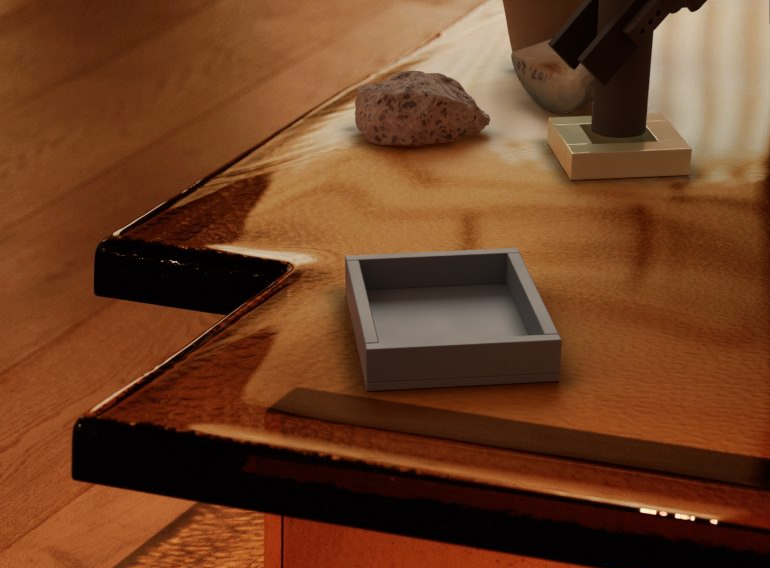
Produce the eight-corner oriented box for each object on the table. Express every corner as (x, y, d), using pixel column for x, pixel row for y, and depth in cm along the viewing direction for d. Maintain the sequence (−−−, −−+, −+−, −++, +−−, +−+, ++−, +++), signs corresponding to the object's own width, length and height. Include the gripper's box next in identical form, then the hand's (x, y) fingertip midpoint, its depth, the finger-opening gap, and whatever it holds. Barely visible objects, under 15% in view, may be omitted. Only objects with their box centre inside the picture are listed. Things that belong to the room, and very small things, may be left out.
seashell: (527, 47, 137) (499, 5, 127) (628, 72, 134) (608, 30, 124) (503, 118, 137) (473, 81, 127) (603, 144, 134) (581, 108, 125)
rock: (369, 110, 131) (368, 60, 129) (499, 120, 128) (500, 69, 126) (337, 144, 124) (336, 91, 122) (474, 155, 121) (476, 101, 119)
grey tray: (559, 381, 88) (562, 339, 86) (366, 391, 87) (365, 349, 86) (516, 285, 99) (517, 247, 98) (345, 293, 98) (344, 255, 97)
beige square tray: (689, 175, 117) (692, 148, 116) (570, 180, 116) (571, 153, 115) (659, 138, 124) (661, 112, 123) (546, 142, 123) (548, 117, 122)
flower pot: (499, 48, 147) (503, -66, 142) (623, 55, 145) (632, -61, 140) (475, 82, 138) (478, -39, 133) (607, 90, 135) (616, -33, 130)
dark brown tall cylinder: (651, 137, 117) (669, -79, 110) (597, 139, 117) (611, -77, 109) (638, 121, 121) (654, -89, 113) (585, 123, 120) (598, -88, 113)
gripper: (905, -143, 107) (664, 129, 110) (763, -174, 121) (554, 69, 124) (848, -227, 102) (600, 59, 106) (709, -249, 116) (493, 5, 120)
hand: (576, 64), depth 115 cm, fingers closed on dark brown tall cylinder, 4 cm apart
